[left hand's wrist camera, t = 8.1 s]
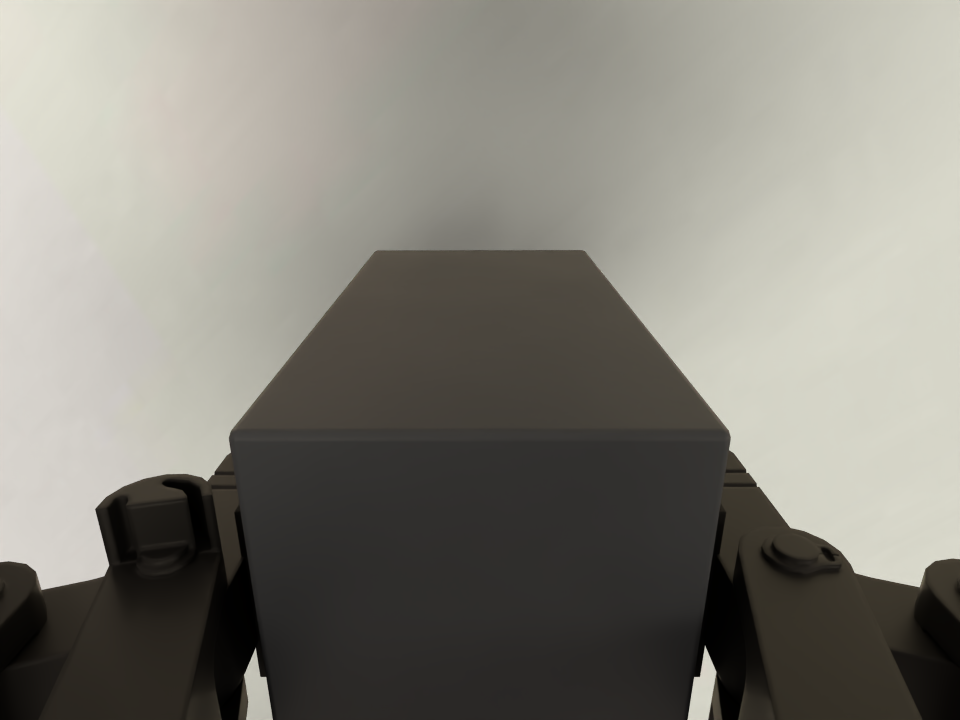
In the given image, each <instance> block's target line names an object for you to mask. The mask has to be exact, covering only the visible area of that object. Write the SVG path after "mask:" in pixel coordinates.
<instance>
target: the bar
mask: <svg viewBox="0 0 960 720" xmlns="http://www.w3.org/2000/svg"><path fill="white" fill-rule="evenodd" d="M730 439H731V437H730V433H729V430H728V429H727V428H726V427H725V425H724V424H723V423H722V422H721V420H720V419H719V418H718V417H717V415H716V414H715V413H714V412H713V411H712V409H711V408H710V407H709V406H708V404H707V403H706V402H705V401H704V399H703V398H702V397H701V396H700V394H699V393H698V392H697V391H696V389H695V388H694V387H693V386H692V384H691V383H690V382H689V381H688V379H687V378H686V377H685V376H684V374H683V373H682V372H681V371H680V369H679V368H678V367H677V366H676V364H675V363H674V362H673V361H672V359H671V358H670V357H669V356H668V354H667V353H666V352H665V351H664V349H663V348H662V347H661V346H660V344H659V343H658V342H657V341H656V339H655V338H654V337H653V336H652V334H651V333H650V332H649V331H648V329H647V328H646V327H645V326H644V325H643V323H642V322H641V321H640V320H639V318H638V317H637V316H636V315H635V313H634V312H633V311H632V310H631V308H630V307H629V306H628V305H627V303H626V302H625V301H624V300H623V298H622V297H621V296H620V295H619V293H618V292H617V291H616V290H615V288H614V287H613V286H612V285H611V283H610V282H609V281H608V280H607V278H606V277H605V276H604V275H603V273H602V272H601V271H600V270H599V268H598V267H597V266H596V265H595V263H594V262H593V261H592V260H591V258H590V257H589V256H588V255H587V253H586V252H585V251H582V250H464V251H376V252H374V254H373V255H372V256H371V257H370V259H369V260H368V261H367V262H366V264H365V265H364V266H363V267H362V269H361V270H360V271H359V272H358V274H357V275H356V276H355V277H354V279H353V280H352V281H351V282H350V284H349V285H348V286H347V287H346V289H345V290H344V291H343V292H342V294H341V295H340V296H339V297H338V299H337V300H336V301H335V302H334V304H333V305H332V306H331V307H330V308H329V310H328V311H327V312H326V313H325V315H324V316H323V317H322V318H321V320H320V321H319V322H318V323H317V325H316V326H315V327H314V328H313V330H312V331H311V332H310V333H309V335H308V336H307V337H306V338H305V340H304V341H303V342H302V343H301V345H300V346H299V347H298V348H297V350H296V351H295V352H294V353H293V355H292V356H291V357H290V358H289V360H288V361H287V362H286V363H285V365H284V366H283V367H282V368H281V370H280V371H279V372H278V373H277V375H276V376H275V377H274V378H273V379H272V381H271V382H270V383H269V384H268V386H267V387H266V388H265V389H264V391H263V392H262V393H261V394H260V396H259V397H258V398H257V399H256V401H255V402H254V403H253V404H252V406H251V407H250V408H249V409H248V411H247V412H246V413H245V414H244V416H243V417H242V418H241V419H240V421H239V422H238V423H237V424H236V426H235V427H234V428H233V429H232V431H231V433H230V436H229V442H230V448H231V455H232V461H233V467H234V474H235V480H236V486H237V493H238V499H239V506H240V512H241V518H242V525H243V531H244V537H245V544H246V550H247V557H248V563H249V569H250V576H251V582H252V589H253V595H254V601H255V608H256V614H257V620H258V627H259V633H260V640H261V646H262V652H263V659H264V665H265V671H266V678H267V684H268V691H269V697H270V703H271V710H272V716H273V720H687V719H688V712H689V706H690V699H691V693H692V686H693V680H694V673H695V667H696V660H697V654H698V647H699V641H700V634H701V628H702V621H703V615H704V608H705V602H706V595H707V589H708V582H709V576H710V569H711V563H712V556H713V550H714V543H715V537H716V530H717V524H718V517H719V511H720V504H721V498H722V491H723V485H724V478H725V472H726V465H727V459H728V452H729V446H730Z"/></svg>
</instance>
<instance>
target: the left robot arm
mask: <svg viewBox="0 0 960 720" xmlns="http://www.w3.org/2000/svg"><path fill="white" fill-rule="evenodd" d="M95 510H96V514H97V518H98V522H99V526H100V530H101V534H102V538H103V542H104V546H105V550H106V554H107V558H108V562H109V568H108V570H107V572H106V574H105V576H104V577H100V578H97V579H93V580H89V581H84V582H79V583H74V584H69V585H65V586H60V587H55V588H50V589H45V590H41V587H40V584H39V581H38V577H37V574H36V571H34V570H33V569H32V568H31V567H29V566H28V565H27V564H22V563H16V562H9V561H8V562H0V720H246V716H247V707H248V697H247V690H246V684H245V678H244V674H245V671H246V669H247V667H248V664H249V662H250V660H251V657H252V655H253V653H254V650H255V648H256V651H257V658H258V664H259V670H260V676H261V677H266V671H265V665H264V659H263V652H262V646H261V640H260V633H259V627H258V620H257V614H256V608H255V601H254V595H253V589H252V582H251V576H250V569H249V563H248V557H247V550H246V544H245V537H244V531H243V525H242V518H241V512H240V506H239V499H238V493H237V486H236V480H235V474H234V467H233V461H232V455H231V453H230V454H229V455H227V456H226V458H225V459H224V460H223V462H222V463H221V464H220V466H219V467H218V468H217V470H216V471H215V475H212V476H211V478H210V479H209V480H208V482H207V481H206V480H204V479H203V478H201V477H197V476H193V475H188V474H166V475H161V476H156V477H151V478H146V479H143V480H140V481H137V482H135V483H132V484H129V485H127V486H124V487H122V488H121V489H119V490H117V491H116V492H114V493H112V494H111V495H109V496H107V497H106V498H105V499H104V500H103V501H102V502H101V503H100V505H99V506H98V507H97V508H96V509H95ZM705 646H706V648H707V651H708V653H709V655H710V658H711V660H712V662H713V665H714V667H715V669H716V672H717V673H716V678H715V684H714V690H713V696H712V702H711V707H710V713H709V719H708V720H960V559H947V560H940V561H935V562H934V563H932V564H931V565H930V566H929V567H927V568H926V569H925V572H924V576H923V579H922V582H921V586H920V587H915V586H910V585H905V584H900V583H895V582H890V581H885V580H880V579H875V578H871V577H867V576H863V575H859V574H856V573H854V571H853V569H852V566H851V564H850V563H849V562H848V561H847V559H846V558H845V557H844V555H843V554H842V553H841V552H840V551H839V550H838V549H836V548H835V547H833V546H832V545H831V544H829V543H828V542H826V541H825V540H823V539H821V538H818V537H816V536H814V535H812V534H809V533H807V532H805V531H801V530H796V529H792V528H790V527H789V526H788V524H787V523H786V522H785V520H784V519H783V518H782V516H781V515H780V514H779V513H778V511H777V510H776V509H775V507H774V506H773V505H772V503H771V502H770V501H769V499H768V498H767V497H766V495H765V494H764V493H763V491H762V490H761V489H760V487H757V483H756V482H755V481H754V479H753V478H752V477H751V476H750V474H749V473H746V469H745V468H744V466H743V465H742V464H741V462H740V461H739V460H738V458H737V457H736V456H735V454H734V453H732V452H731V451H729V452H728V459H727V465H726V472H725V478H724V485H723V491H722V498H721V504H720V511H719V517H718V524H717V530H716V537H715V543H714V550H713V556H712V563H711V569H710V576H709V582H708V589H707V595H706V602H705V608H704V615H703V621H702V628H701V634H700V641H699V647H698V654H697V660H696V667H695V673H694V677H700V673H701V666H702V660H703V654H704V648H705Z"/></svg>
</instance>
